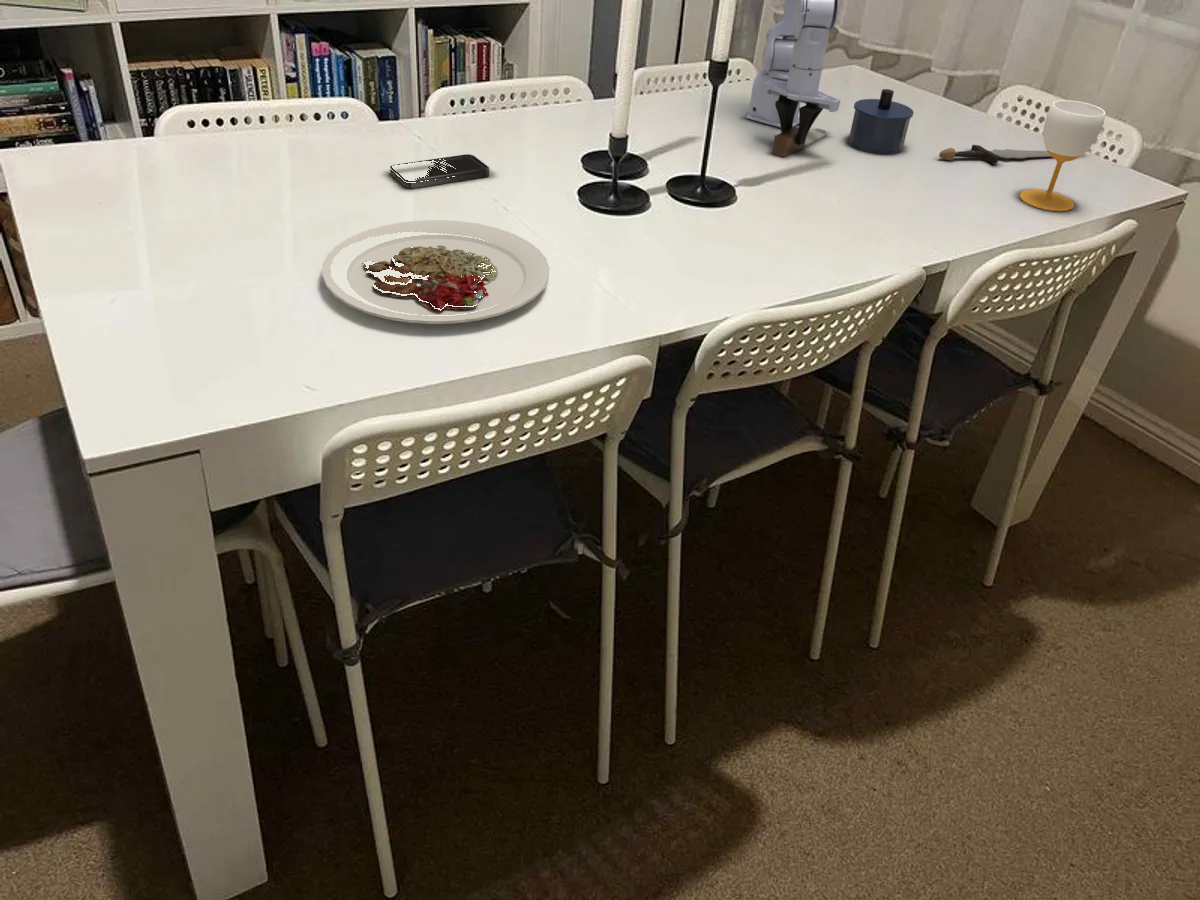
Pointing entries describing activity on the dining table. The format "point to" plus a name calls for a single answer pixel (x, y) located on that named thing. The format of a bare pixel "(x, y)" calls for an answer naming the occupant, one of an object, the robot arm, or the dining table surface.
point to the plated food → (443, 272)
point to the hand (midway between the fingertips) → (792, 141)
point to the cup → (1065, 146)
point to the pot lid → (884, 107)
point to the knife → (794, 141)
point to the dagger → (991, 154)
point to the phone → (448, 171)
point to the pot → (877, 134)
